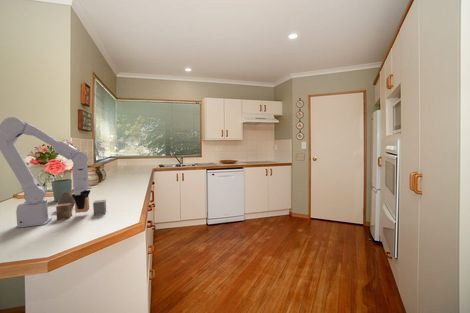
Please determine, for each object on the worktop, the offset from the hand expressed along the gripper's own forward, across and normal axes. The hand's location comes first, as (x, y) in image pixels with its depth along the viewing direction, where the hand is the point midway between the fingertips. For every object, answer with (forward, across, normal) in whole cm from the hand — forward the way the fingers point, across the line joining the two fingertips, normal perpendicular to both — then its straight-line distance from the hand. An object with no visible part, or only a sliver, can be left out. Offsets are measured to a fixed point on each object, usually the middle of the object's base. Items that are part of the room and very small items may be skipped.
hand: (82, 207), depth 106 cm
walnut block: (+4, 0, +7) cm, 8 cm away
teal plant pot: (+4, +44, +19) cm, 48 cm away
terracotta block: (+2, 0, 0) cm, 2 cm away
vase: (+4, +17, +10) cm, 20 cm away
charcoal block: (+4, 0, -7) cm, 8 cm away
